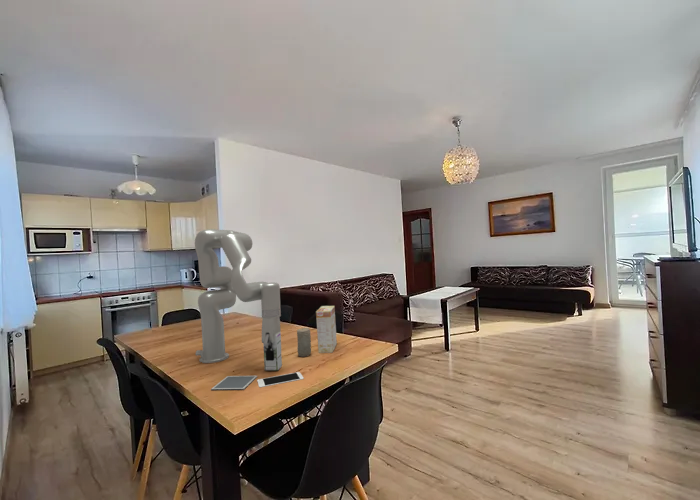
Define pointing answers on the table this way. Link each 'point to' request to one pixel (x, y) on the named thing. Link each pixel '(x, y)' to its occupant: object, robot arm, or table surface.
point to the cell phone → (279, 379)
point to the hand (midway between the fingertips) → (272, 357)
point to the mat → (234, 383)
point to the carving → (304, 342)
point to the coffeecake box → (326, 329)
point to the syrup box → (277, 360)
